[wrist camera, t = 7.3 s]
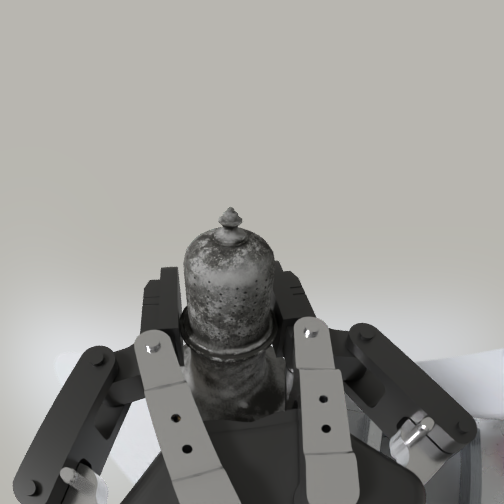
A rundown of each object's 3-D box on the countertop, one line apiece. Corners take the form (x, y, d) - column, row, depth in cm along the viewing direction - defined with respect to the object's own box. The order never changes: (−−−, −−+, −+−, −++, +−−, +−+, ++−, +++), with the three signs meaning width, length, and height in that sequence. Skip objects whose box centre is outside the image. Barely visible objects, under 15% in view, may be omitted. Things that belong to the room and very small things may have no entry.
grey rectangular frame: (287, 540, 14) (296, 537, 12) (324, 414, 23) (334, 395, 21) (490, 543, 10) (515, 534, 9) (492, 436, 19) (511, 420, 17)
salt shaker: (186, 364, 18) (165, 167, 12) (284, 375, 18) (323, 180, 11) (162, 451, 14) (88, 256, 7) (280, 466, 13) (351, 284, 7)
